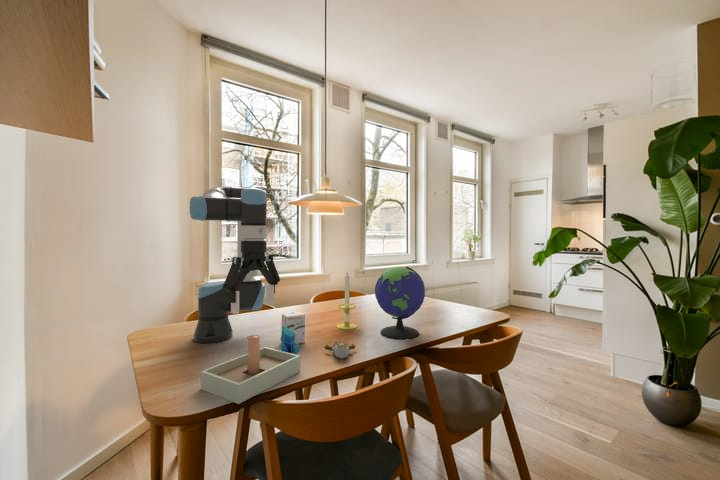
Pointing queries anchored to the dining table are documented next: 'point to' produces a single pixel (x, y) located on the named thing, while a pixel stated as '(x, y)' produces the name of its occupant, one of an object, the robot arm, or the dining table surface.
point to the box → (239, 385)
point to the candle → (346, 308)
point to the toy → (340, 349)
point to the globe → (400, 299)
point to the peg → (253, 355)
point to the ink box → (295, 325)
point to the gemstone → (288, 341)
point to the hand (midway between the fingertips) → (253, 308)
